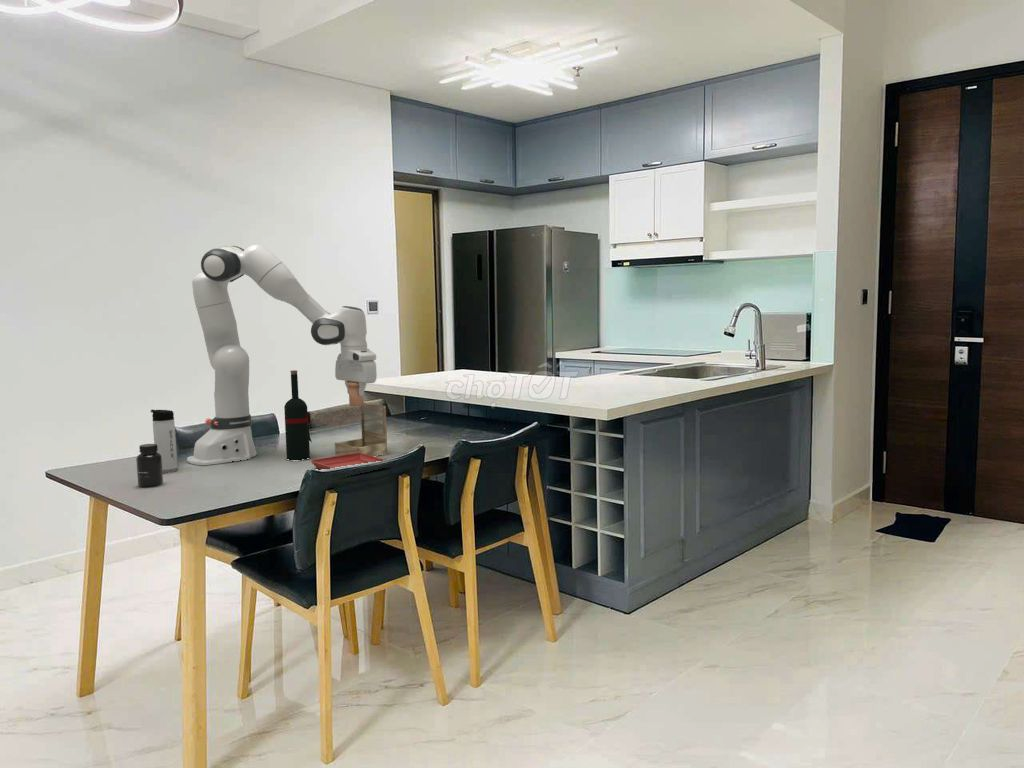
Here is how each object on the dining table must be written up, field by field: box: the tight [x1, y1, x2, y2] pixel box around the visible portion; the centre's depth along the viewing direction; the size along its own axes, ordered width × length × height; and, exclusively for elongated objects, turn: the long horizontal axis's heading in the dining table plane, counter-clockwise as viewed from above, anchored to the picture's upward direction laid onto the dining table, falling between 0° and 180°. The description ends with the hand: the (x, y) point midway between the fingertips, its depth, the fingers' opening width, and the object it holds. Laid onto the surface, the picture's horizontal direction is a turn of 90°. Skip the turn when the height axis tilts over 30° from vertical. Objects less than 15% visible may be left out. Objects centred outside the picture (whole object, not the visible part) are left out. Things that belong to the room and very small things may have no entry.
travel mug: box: [150, 409, 179, 474], centre depth 243 cm, size 6×7×20 cm
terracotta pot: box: [347, 381, 365, 407], centre depth 261 cm, size 6×6×8 cm
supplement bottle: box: [136, 443, 164, 488], centre depth 226 cm, size 7×7×12 cm
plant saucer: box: [310, 453, 385, 470], centre depth 243 cm, size 18×18×3 cm
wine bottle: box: [284, 370, 313, 460], centre depth 259 cm, size 8×10×30 cm
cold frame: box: [334, 402, 388, 457], centre depth 264 cm, size 12×14×17 cm
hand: (355, 394), depth 261 cm, fingers closed on terracotta pot, 5 cm apart
